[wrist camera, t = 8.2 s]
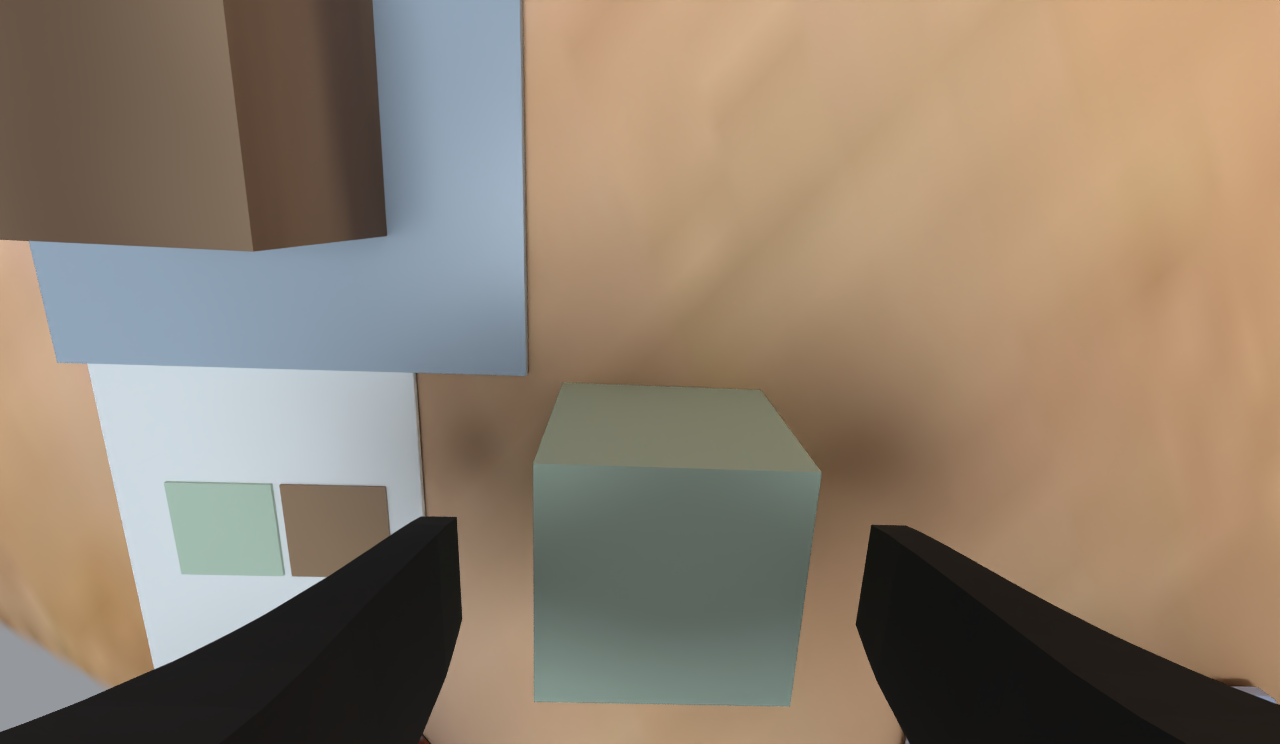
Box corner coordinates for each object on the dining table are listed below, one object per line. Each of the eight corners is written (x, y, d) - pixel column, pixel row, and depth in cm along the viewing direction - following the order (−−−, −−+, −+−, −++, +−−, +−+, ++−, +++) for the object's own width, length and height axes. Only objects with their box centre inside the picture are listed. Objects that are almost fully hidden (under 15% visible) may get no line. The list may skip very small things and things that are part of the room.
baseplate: (519, -166, 11) (516, -177, 10) (528, 372, 13) (525, 375, 13) (-57, -197, 10) (-77, -208, 10) (69, 359, 13) (57, 362, 13)
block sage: (759, 388, 14) (821, 472, 9) (742, 560, 15) (790, 706, 10) (563, 381, 13) (532, 463, 9) (561, 555, 15) (533, 702, 10)
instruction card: (414, 347, 13) (410, 349, 13) (436, 683, 15) (434, 690, 15) (88, 337, 13) (78, 340, 13) (162, 679, 15) (155, 686, 15)
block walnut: (371, -14, 11) (203, -159, 7) (387, 236, 12) (253, 251, 8) (121, -29, 11) (-219, -188, 6) (161, 225, 12) (-103, 235, 8)
